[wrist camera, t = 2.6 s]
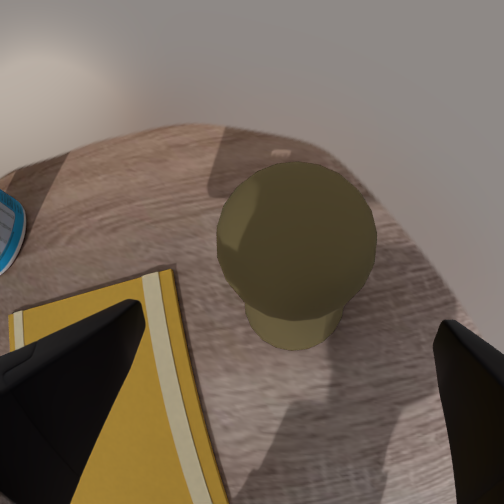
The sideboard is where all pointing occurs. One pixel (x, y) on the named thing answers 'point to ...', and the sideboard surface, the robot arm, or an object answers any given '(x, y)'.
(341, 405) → the sideboard surface
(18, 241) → the blue plastic jar
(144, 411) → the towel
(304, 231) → the cork
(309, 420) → the sideboard surface
